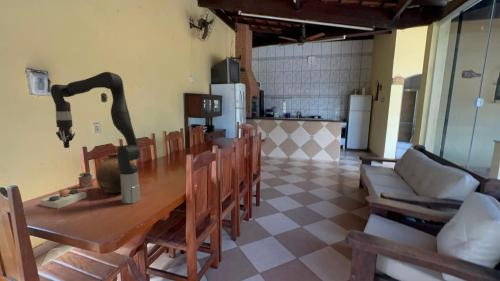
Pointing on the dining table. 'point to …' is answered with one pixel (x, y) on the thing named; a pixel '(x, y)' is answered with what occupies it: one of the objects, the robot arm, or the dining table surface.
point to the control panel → (63, 200)
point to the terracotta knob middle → (63, 192)
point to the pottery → (110, 174)
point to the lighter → (85, 180)
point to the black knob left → (53, 198)
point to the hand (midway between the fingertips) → (66, 147)
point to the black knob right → (73, 191)
